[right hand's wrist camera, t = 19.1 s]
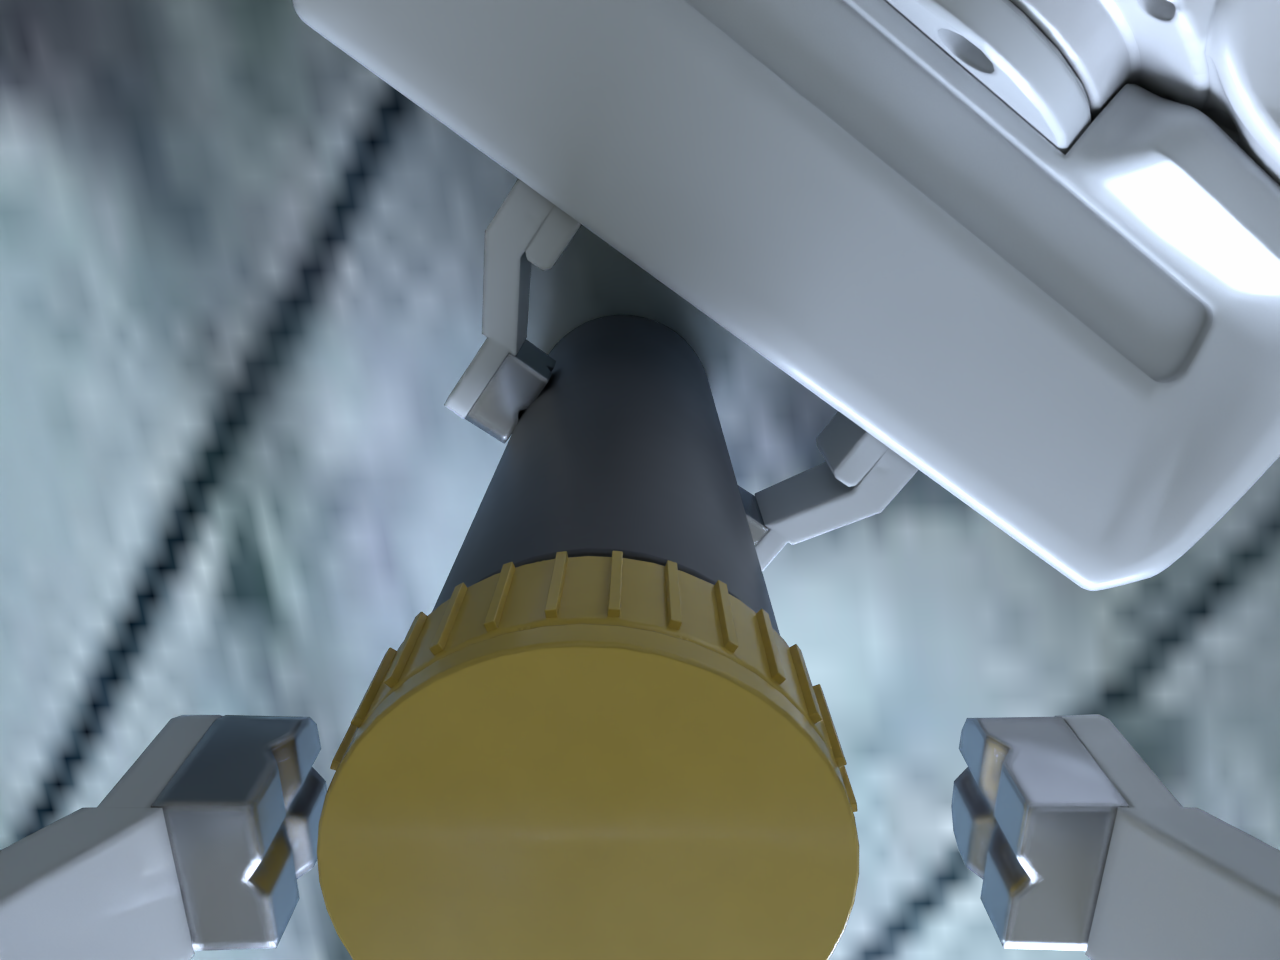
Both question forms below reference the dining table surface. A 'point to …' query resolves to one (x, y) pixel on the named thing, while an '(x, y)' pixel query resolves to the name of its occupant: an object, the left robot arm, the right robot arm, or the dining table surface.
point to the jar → (618, 467)
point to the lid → (590, 780)
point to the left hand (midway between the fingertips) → (597, 496)
